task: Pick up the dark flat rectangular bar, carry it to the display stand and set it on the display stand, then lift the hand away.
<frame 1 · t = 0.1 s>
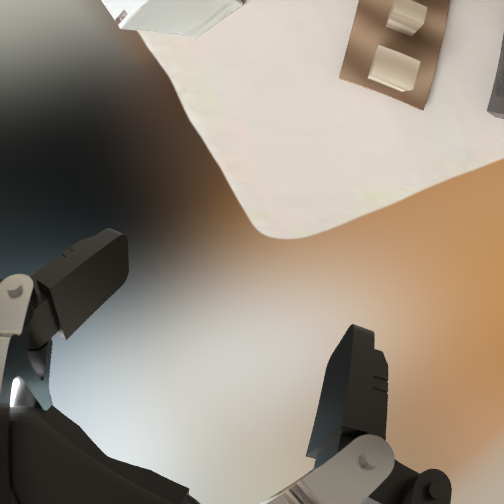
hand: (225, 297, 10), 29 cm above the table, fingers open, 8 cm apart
skincare box: (208, 10, 29), on the table
dark flat rectangular bar: (503, 60, 20), on the table
display stand: (398, 27, 23), on the table
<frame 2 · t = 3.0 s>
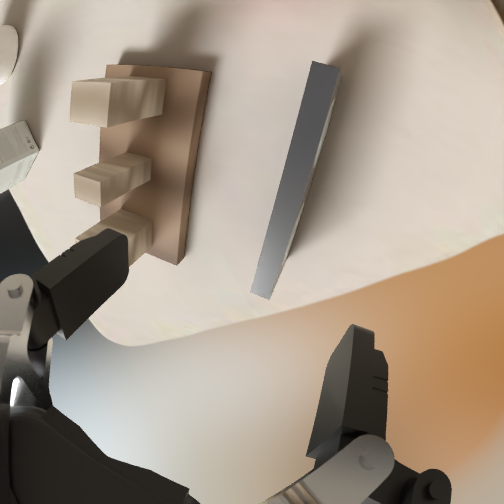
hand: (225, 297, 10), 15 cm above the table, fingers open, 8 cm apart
skincare box: (25, 152, 31), on the table
dark flat rectangular bar: (304, 171, 23), on the table
wine bottle: (7, 54, 24), on the table
display stand: (147, 161, 26), on the table
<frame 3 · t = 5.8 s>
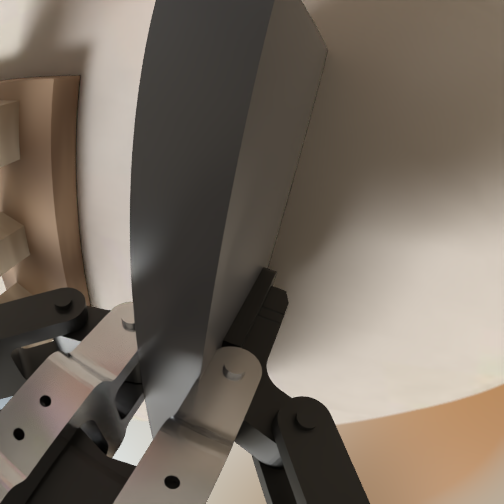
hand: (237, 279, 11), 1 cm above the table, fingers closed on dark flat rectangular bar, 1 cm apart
dark flat rectangular bar: (247, 265, 11), on the table, touching gripper
display stand: (32, 222, 15), on the table
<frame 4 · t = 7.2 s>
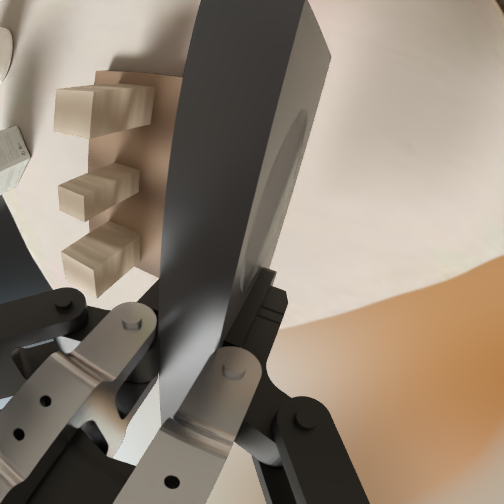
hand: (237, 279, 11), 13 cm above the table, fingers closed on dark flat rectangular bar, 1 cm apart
skincare box: (17, 158, 30), on the table
dark flat rectangular bar: (253, 255, 12), point 11 cm above the table, touching gripper
wine bottle: (2, 57, 23), on the table
display stand: (136, 172, 25), on the table
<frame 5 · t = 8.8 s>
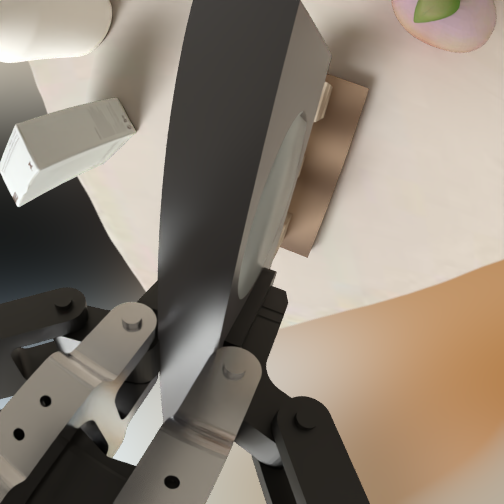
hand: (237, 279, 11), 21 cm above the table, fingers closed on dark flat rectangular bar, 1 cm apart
skincare box: (110, 133, 34), on the table
dark flat rectangular bar: (254, 255, 12), point 19 cm above the table, touching gripper
wine bottle: (91, 24, 26), on the table
decorative fruit: (432, 18, 17), on the table
display stand: (290, 157, 29), on the table
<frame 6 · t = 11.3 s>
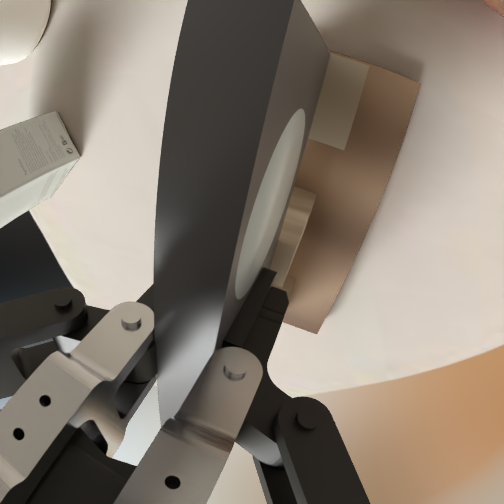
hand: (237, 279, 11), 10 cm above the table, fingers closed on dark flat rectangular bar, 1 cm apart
skincare box: (54, 158, 24), on the table
dark flat rectangular bar: (253, 256, 12), point 8 cm above the table, touching gripper
wine bottle: (31, 20, 17), on the table
display stand: (292, 193, 19), on the table
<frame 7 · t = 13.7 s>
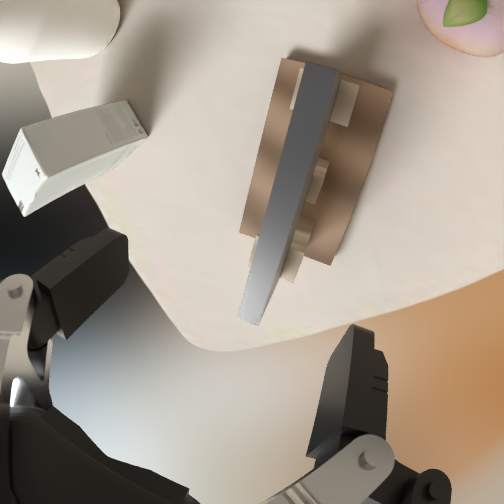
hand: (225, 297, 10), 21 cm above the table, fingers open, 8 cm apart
skincare box: (119, 138, 33), on the table
dark flat rectangular bar: (298, 185, 21), point 8 cm above the table, touching display stand
wine bottle: (97, 24, 26), on the table
decorative fruit: (452, 21, 16), on the table
display stand: (312, 162, 27), on the table
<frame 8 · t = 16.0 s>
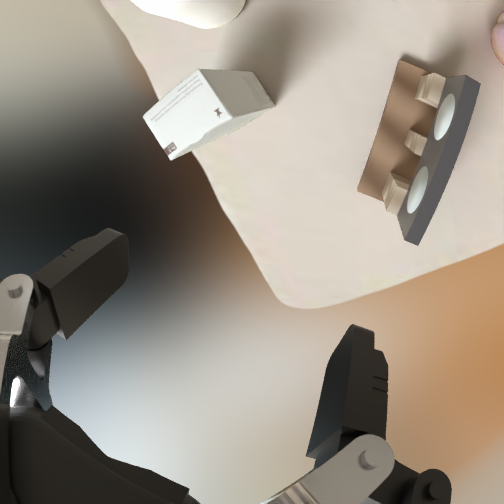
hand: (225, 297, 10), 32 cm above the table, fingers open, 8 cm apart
skincare box: (240, 105, 37), on the table
dark flat rectangular bar: (430, 150, 25), point 8 cm above the table, touching display stand
wine bottle: (216, 1, 30), on the table
display stand: (415, 139, 32), on the table
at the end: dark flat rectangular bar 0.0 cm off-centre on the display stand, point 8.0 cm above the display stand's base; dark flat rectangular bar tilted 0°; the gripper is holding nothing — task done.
